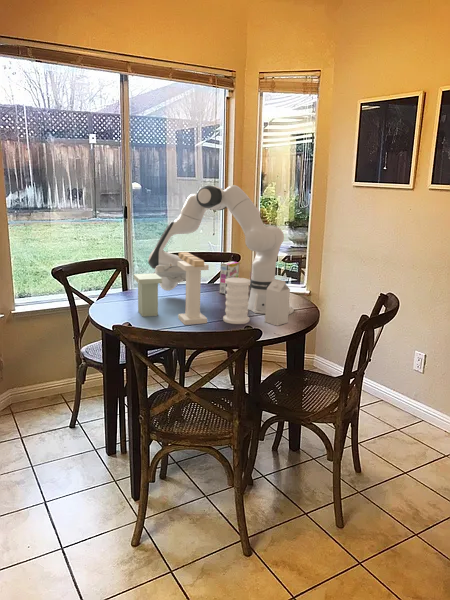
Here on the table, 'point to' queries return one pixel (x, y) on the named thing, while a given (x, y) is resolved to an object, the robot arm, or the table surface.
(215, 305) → the table surface
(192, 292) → the shelf stand
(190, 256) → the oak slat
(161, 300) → the table surface
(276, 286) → the milk carton
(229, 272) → the candy bar box
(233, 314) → the decorative container
